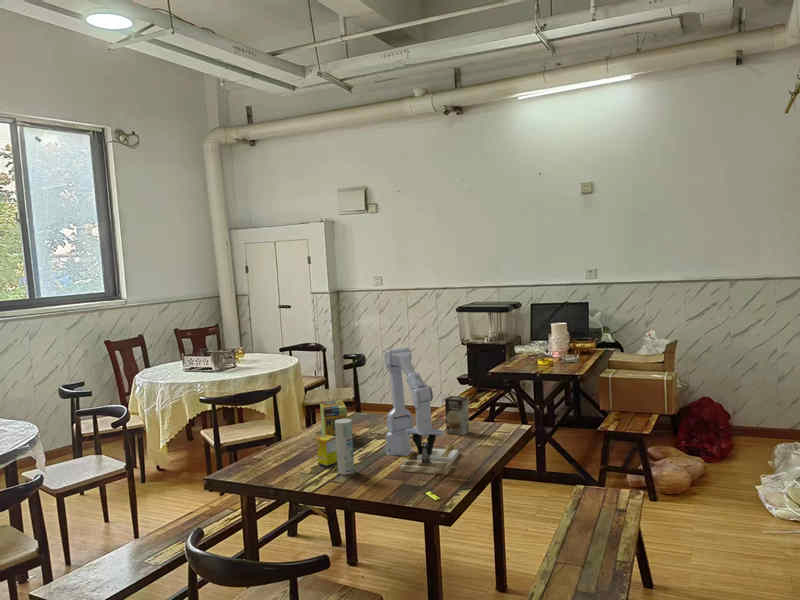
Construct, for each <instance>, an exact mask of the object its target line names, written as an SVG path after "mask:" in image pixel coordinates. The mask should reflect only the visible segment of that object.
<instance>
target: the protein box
mask: <svg viewBox="0 0 800 600" xmlns="http://www.w3.org/2000/svg"><path fill="white" fill-rule="evenodd" d="M319 407H320V424H321V425H320V426H321V434H322V435H321V436H325V435H331V436H335V437H336V433H335V421H336V420H338V419H348V412H347V406H346V405H345V403H344V402H343V400H341V399H339V400H331V401H327V400H326V401H321V402H320V403H319Z"/></svg>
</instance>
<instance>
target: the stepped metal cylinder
mask: <svg viewBox="0 0 800 600" xmlns="http://www.w3.org/2000/svg"><path fill="white" fill-rule="evenodd" d="M421 455H422V463H424V464H427V463H430V455H429V454H428V442H427V441H424V442H423V441H422V446H421Z"/></svg>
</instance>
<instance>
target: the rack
mask: <svg viewBox="0 0 800 600" xmlns="http://www.w3.org/2000/svg"><path fill="white" fill-rule="evenodd" d="M451 469H452V464H451V462H435V461H430V463H427V464H424V463H422V461H419V460H417V459H406V460H404V462H403V463H402V464H400V472H410V473H421V474H422V473H424V474H437V475H439V474H440V475H448V473H449V472H450V471H451Z"/></svg>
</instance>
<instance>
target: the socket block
mask: <svg viewBox="0 0 800 600" xmlns="http://www.w3.org/2000/svg"><path fill="white" fill-rule="evenodd" d="M446 451H447V449H446V448H433V449H432V454H431V455H430V461H435V462H451V465H453V463H454V461H455V460H456V459H457V457H458V456H459V449H455V450H452V451H451V452H450V454H449V455H448V456H447V457H442V456H443V455H444V454H445V452H446ZM416 460H419V461H422V455H419V454H418V455H417V456H416Z"/></svg>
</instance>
